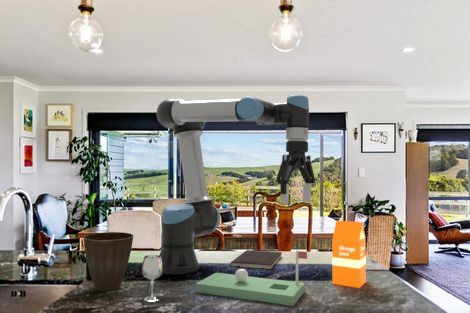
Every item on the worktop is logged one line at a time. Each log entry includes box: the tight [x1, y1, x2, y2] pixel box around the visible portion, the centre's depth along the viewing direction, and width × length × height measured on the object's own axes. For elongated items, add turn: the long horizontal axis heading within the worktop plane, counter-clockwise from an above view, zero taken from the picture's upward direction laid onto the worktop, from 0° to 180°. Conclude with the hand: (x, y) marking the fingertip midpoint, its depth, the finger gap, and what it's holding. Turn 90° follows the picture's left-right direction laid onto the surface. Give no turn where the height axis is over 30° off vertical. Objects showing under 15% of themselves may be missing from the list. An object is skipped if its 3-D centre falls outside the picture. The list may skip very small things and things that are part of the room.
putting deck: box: [195, 249, 308, 306], centre depth 123 cm, size 31×14×12 cm, turn 67°
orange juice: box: [331, 220, 367, 289], centre depth 133 cm, size 8×9×20 cm
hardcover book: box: [229, 249, 283, 270], centre depth 163 cm, size 16×23×2 cm
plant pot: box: [83, 231, 134, 292], centre depth 127 cm, size 15×15×16 cm
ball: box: [234, 268, 249, 282], centre depth 124 cm, size 4×4×4 cm
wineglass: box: [141, 254, 163, 303], centre depth 115 cm, size 6×6×12 cm
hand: (296, 202), depth 139 cm, fingers open, 13 cm apart
